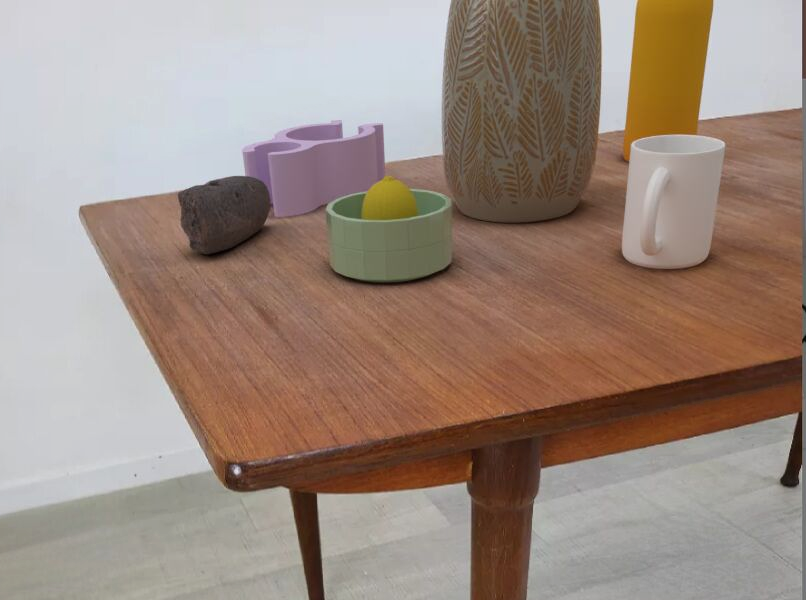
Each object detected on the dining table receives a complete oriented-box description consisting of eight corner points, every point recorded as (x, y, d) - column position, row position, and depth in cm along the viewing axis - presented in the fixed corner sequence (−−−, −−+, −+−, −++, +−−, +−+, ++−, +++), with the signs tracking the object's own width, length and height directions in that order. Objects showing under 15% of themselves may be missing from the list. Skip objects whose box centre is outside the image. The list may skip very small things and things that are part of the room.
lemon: (376, 250, 96) (371, 168, 92) (427, 254, 94) (425, 169, 90) (355, 267, 92) (349, 181, 87) (408, 271, 90) (405, 183, 86)
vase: (449, 233, 102) (447, -66, 87) (436, 194, 116) (432, -69, 101) (608, 223, 102) (634, -77, 87) (575, 185, 116) (593, -79, 101)
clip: (304, 221, 109) (299, 157, 105) (226, 209, 115) (217, 149, 111) (402, 182, 122) (400, 124, 118) (326, 173, 128) (322, 118, 124)
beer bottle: (607, 160, 126) (628, -105, 110) (652, 148, 131) (679, -108, 114) (662, 170, 120) (694, -109, 104) (708, 158, 124) (745, -112, 108)
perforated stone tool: (253, 222, 110) (245, 159, 106) (291, 227, 107) (284, 162, 103) (170, 260, 99) (158, 191, 95) (210, 266, 97) (200, 195, 93)
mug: (683, 287, 84) (700, 165, 78) (595, 276, 88) (604, 159, 82) (718, 249, 93) (735, 137, 87) (636, 241, 96) (647, 132, 90)
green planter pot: (429, 242, 100) (428, 183, 96) (469, 276, 90) (470, 211, 86) (319, 257, 97) (313, 197, 94) (348, 294, 88) (343, 228, 84)
